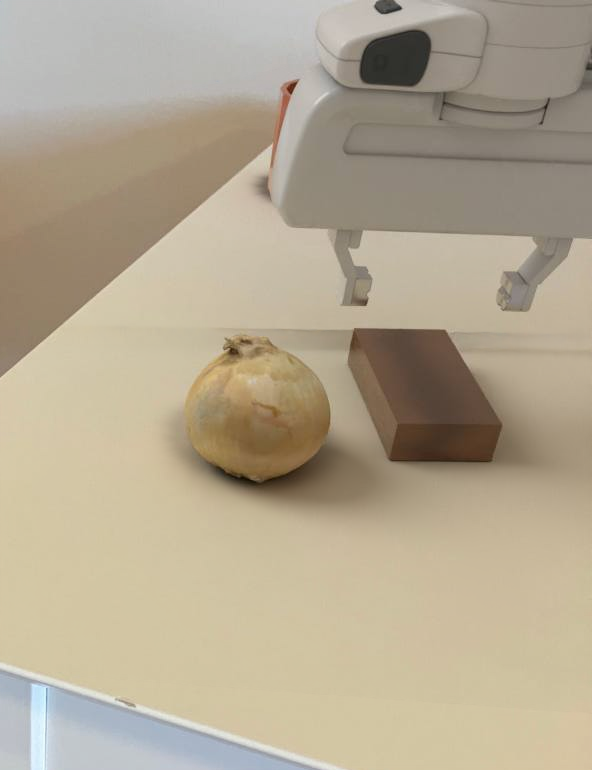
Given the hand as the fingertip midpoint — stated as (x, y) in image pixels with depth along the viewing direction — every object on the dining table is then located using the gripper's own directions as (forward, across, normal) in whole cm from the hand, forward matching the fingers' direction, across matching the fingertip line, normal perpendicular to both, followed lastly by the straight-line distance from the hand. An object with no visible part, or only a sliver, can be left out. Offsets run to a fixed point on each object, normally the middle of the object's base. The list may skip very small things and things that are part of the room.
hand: (431, 305), depth 64 cm
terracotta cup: (+6, 0, -34) cm, 35 cm away
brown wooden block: (+7, 0, 0) cm, 7 cm away
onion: (+7, +10, +6) cm, 14 cm away
